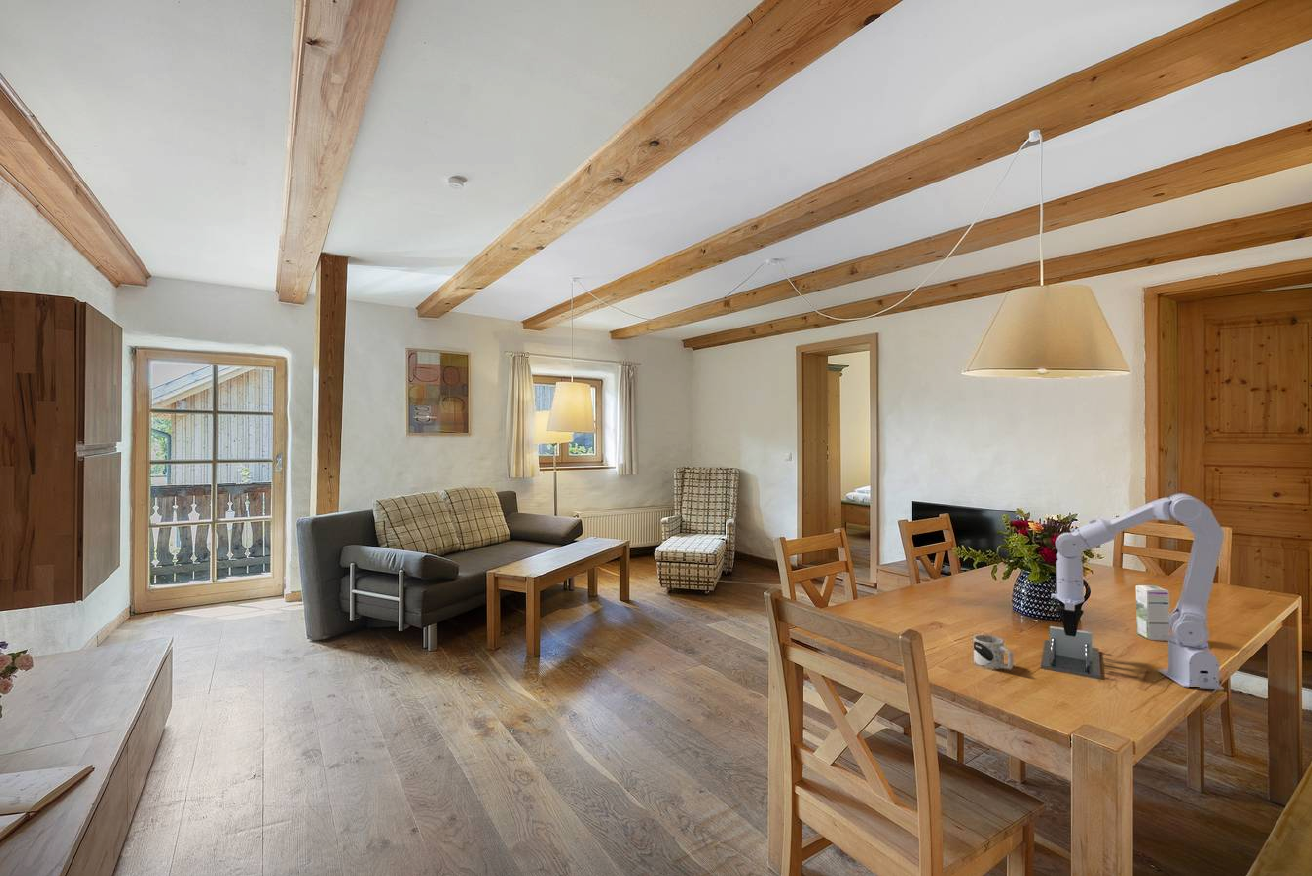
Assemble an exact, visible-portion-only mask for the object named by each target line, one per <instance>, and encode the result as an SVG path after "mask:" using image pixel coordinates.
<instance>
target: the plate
mask: <svg viewBox="0 0 1312 876" xmlns="http://www.w3.org/2000/svg"><path fill="white" fill-rule="evenodd" d="M1052 638H1055V639H1056V655H1059V656H1065V657H1071V658H1077V659H1082V660H1085V644H1089V656H1090V661H1093V651H1092V648H1093V632H1092V631H1087V630H1081V629H1077V633H1076V636H1075V637H1074V636H1067V635H1065V632H1064V628H1063V627H1061V626H1053V625H1050V626H1049V641H1050V654H1051V647H1052Z"/></svg>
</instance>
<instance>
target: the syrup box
mask: <svg viewBox="0 0 1312 876" xmlns="http://www.w3.org/2000/svg"><path fill="white" fill-rule="evenodd" d="M1169 593H1170V591H1169V590H1168V589H1165V588H1163V587H1160V586H1157V585H1153V584H1152V585H1151V584H1137V585H1135V611H1136V613H1135V616H1136V617H1135V619H1136V620H1135V621H1136V623H1135V624H1136V634H1137V635H1139V636H1141V637H1143V638H1145V639H1146V640H1149V641H1159V642H1161V641H1163V642H1168V636H1169V635H1171V628H1170V627H1169V625H1168V616H1169V615H1170V594H1169Z"/></svg>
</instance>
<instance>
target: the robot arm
mask: <svg viewBox="0 0 1312 876" xmlns="http://www.w3.org/2000/svg"><path fill="white" fill-rule="evenodd" d="M1213 513H1214V512H1213V511H1212V509H1211V508H1210V507H1209V506H1208V505H1206V504H1205V503H1204V502H1203V501H1201V500H1200V499H1198V498H1196V497H1194V496H1192V495H1190V494H1187V493H1183V492H1181V493H1175V494H1172V495H1170V496H1169V497H1163V498H1159V499H1155V500H1153V501H1151V502H1148V503H1145V504H1143V505H1142V506H1139V507H1136V508H1135V509H1133V510H1131V511H1128V512H1126V513H1124V514H1122V515H1120V516H1117V517H1115V518H1112V519H1111V520H1106V519H1103V518H1099V519H1097V520H1096V519H1095V518H1092V519H1090V520H1089V521H1088V523H1087V524H1085V525H1083V526H1079V527H1077V528H1074V527H1072V528H1070V529H1069V531H1070V532H1063V533H1061V534H1059V535H1058V536H1057V537H1056V540H1055V548H1056V550H1057V553H1056V559H1057V560H1056V562H1055V564H1056V566H1055V567H1056V568H1055V569H1056V572H1055V573H1056V574H1055V575H1056V593H1051V598H1054V599H1057V602H1058V605H1059V606H1058V605H1057V606H1056V611H1057V612H1058V614H1059V616H1060V619H1061V623H1062V628H1064V632H1065V635H1067V636H1074V637H1075V636H1076V633H1077V630H1078V628H1079V627H1078V626H1079V622H1080V621H1081V617H1082V616H1083V614H1084V610H1082V607H1083V606H1084V602H1085V597H1084V562H1082V560H1083V559H1082V554H1083V553H1084V550H1088V551H1089V550H1091V549H1095V548H1097V547H1099V546H1102V545H1105V544H1106V543H1109V542H1111V541H1114V540H1116V538H1117V536H1118V535H1117V534H1118V533H1120V532H1121V531H1125V530H1128V529H1130V528H1133V527H1135V526H1139V525H1141V524H1144V523H1146V522H1149V521H1153V520H1161V521H1171V518H1170V516H1171V517H1172V518H1174V519H1175V520H1176V521H1178V522H1179V523H1181V524H1183V525H1184V526H1185V527H1186V528H1187V529H1188V530H1189V531H1190V532H1191V533H1192V534H1193V535H1194V538H1193V541H1192V542H1193V543H1192V546H1191V551H1190V555H1189V559H1188V564H1187V567H1186V572H1185V576H1184V579H1183V584H1182V587H1181V588H1182V589H1181V591H1180V592H1181V593H1180V597H1179V599H1178V601H1177V602H1176V606H1175V608H1174V609H1173V611H1172V612H1171V613H1169V616H1168V625H1169V627H1170V630H1172V632H1170V635H1169V636H1168V641H1167V669H1159V670H1158V672H1159V673H1161V674H1162V675H1164V676H1166V677H1167V678H1169V679H1170V680H1172V681H1174V682H1175V683H1177V684H1178V685H1180V686H1181V687H1183V688H1189V687H1196V686H1199V687H1200V688H1199V689H1206V690H1207V689H1208V690H1219V691H1220V690H1221V691H1224V689H1225V688H1224V687H1223V686H1222V685H1220V663H1219V660H1218V658H1217V657H1216V655H1215V654H1213V653H1212V652H1211V650H1210V648H1209V642H1208V640H1209V637H1210V632H1209V629H1208V628H1207V622H1208V621H1207V620H1208V611H1207V610H1208V608H1207V607H1208V603H1209V599H1210V595H1211V591H1212V587H1213V583H1214V579H1215V576H1216V575H1215V574H1216V572H1217V571H1216V570H1217V567H1218V562H1219V558H1220V554H1221V550H1222V547H1223V546H1222V545H1223V542H1224V539H1225V533H1224V530H1223V529H1222V527H1221V525H1220V524H1219V522H1218V520H1217V518H1216V517H1215V515H1214V514H1213Z"/></svg>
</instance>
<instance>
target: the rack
mask: <svg viewBox="0 0 1312 876" xmlns="http://www.w3.org/2000/svg"><path fill="white" fill-rule="evenodd" d="M1092 651H1093V661H1090V656H1089V644H1085V660H1082V659H1077V658H1071V657H1065V656H1059V655H1056V639H1055V638H1052V647H1051V654H1050V640H1048V639H1047V640H1046V639H1044V644H1043V651H1042V656H1041V660H1040V661H1041V663H1040V669H1044V670H1050V671H1056V672H1060V673H1065V674H1070V675H1076V676H1081V677H1085V678H1093V679H1097V680H1101V679H1102V677H1101V675H1102V674H1101V665H1100V664H1101V663H1100V653H1099V652H1100V651H1099V648H1095V647H1092Z"/></svg>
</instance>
